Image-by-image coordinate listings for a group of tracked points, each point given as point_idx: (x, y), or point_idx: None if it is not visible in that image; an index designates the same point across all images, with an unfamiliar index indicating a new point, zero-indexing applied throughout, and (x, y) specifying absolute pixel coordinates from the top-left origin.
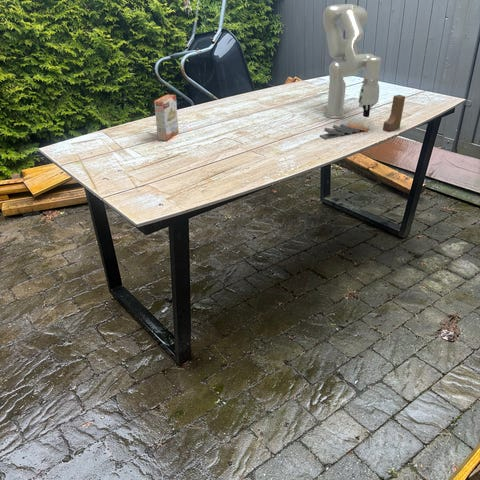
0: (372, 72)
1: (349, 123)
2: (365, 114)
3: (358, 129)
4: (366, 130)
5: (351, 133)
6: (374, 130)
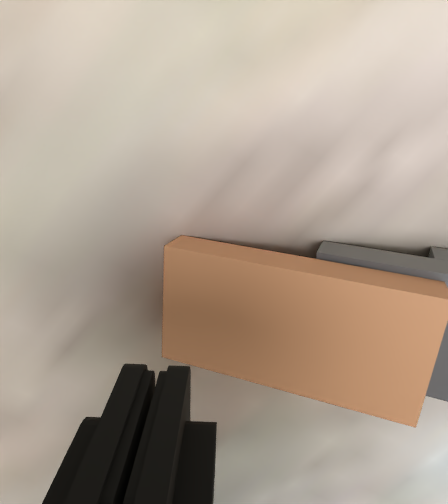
0: None
1: (416, 412)
2: (201, 434)
3: None
4: (194, 240)
5: (443, 249)
6: (75, 213)
